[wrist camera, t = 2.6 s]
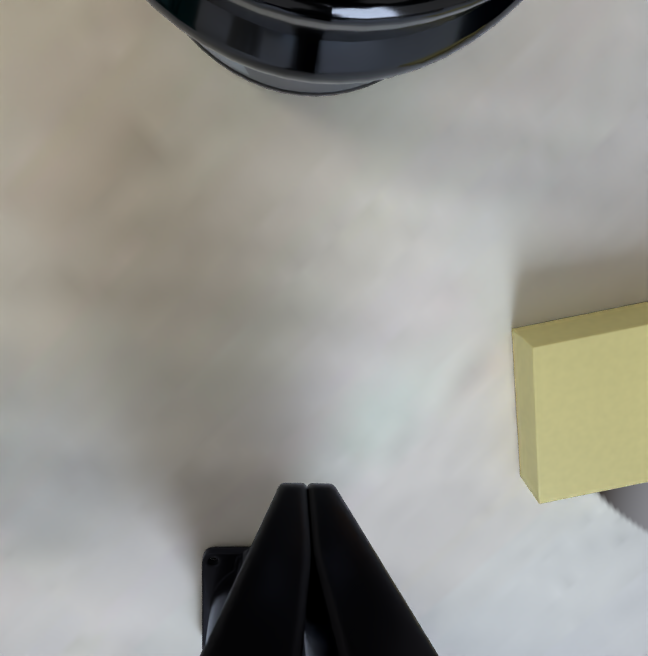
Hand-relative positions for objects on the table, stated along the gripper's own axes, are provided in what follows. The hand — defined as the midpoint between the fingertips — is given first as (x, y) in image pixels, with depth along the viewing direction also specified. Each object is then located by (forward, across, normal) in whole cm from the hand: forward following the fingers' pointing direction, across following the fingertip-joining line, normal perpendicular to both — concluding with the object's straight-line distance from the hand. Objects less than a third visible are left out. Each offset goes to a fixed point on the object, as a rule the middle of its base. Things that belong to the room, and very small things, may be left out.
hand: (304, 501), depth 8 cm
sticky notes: (+12, -14, +7) cm, 20 cm away
